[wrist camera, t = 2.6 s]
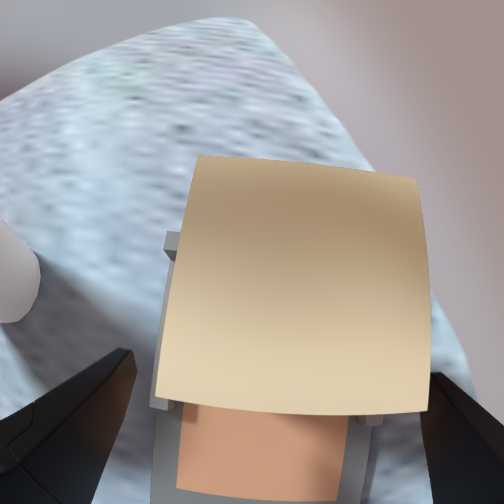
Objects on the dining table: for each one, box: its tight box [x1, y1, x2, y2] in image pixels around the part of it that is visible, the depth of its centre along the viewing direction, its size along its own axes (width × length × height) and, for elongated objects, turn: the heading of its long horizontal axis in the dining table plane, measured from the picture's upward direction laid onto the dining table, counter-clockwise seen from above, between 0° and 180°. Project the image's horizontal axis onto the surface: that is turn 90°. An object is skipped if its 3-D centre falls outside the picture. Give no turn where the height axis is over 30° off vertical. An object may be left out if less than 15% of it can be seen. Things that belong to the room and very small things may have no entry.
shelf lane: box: [149, 231, 384, 504], centre depth 15 cm, size 16×12×4 cm
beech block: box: [155, 156, 431, 415], centre depth 11 cm, size 5×5×12 cm
